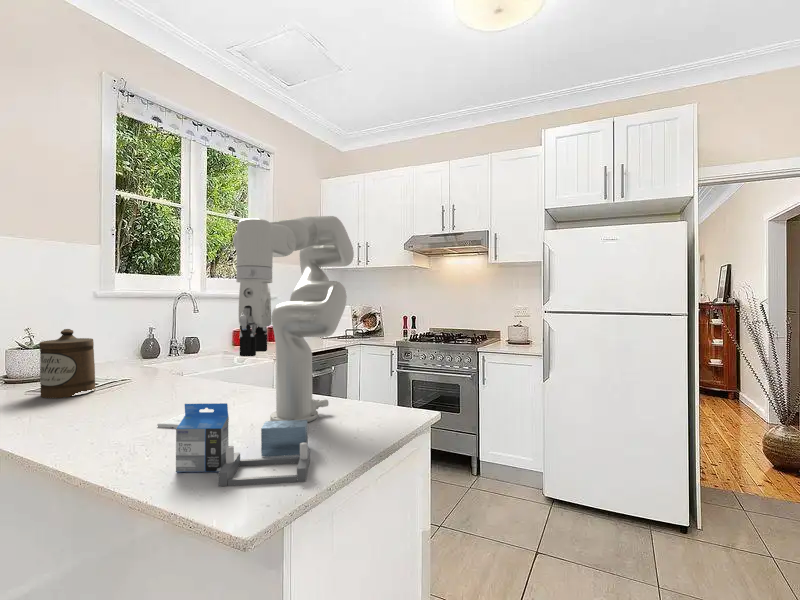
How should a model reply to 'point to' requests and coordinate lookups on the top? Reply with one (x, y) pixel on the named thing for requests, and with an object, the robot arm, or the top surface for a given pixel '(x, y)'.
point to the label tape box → (202, 438)
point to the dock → (234, 462)
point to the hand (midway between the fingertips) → (254, 353)
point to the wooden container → (66, 365)
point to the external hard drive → (174, 421)
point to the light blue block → (283, 437)
